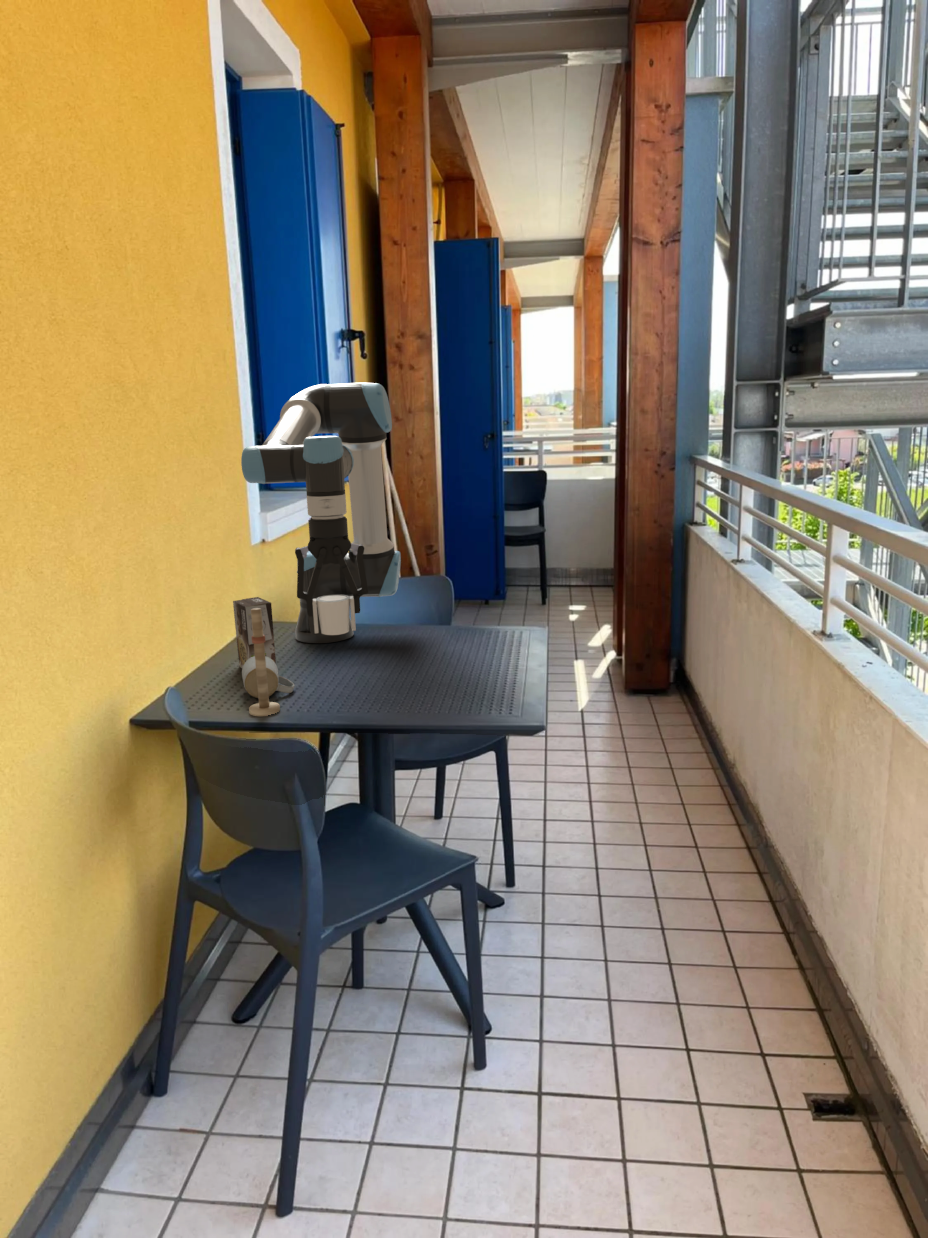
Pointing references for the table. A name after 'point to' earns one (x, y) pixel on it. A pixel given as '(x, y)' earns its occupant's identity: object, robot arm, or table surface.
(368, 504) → the robot arm
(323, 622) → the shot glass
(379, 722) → the table surface
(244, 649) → the coffee box
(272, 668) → the ceramic mug
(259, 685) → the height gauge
